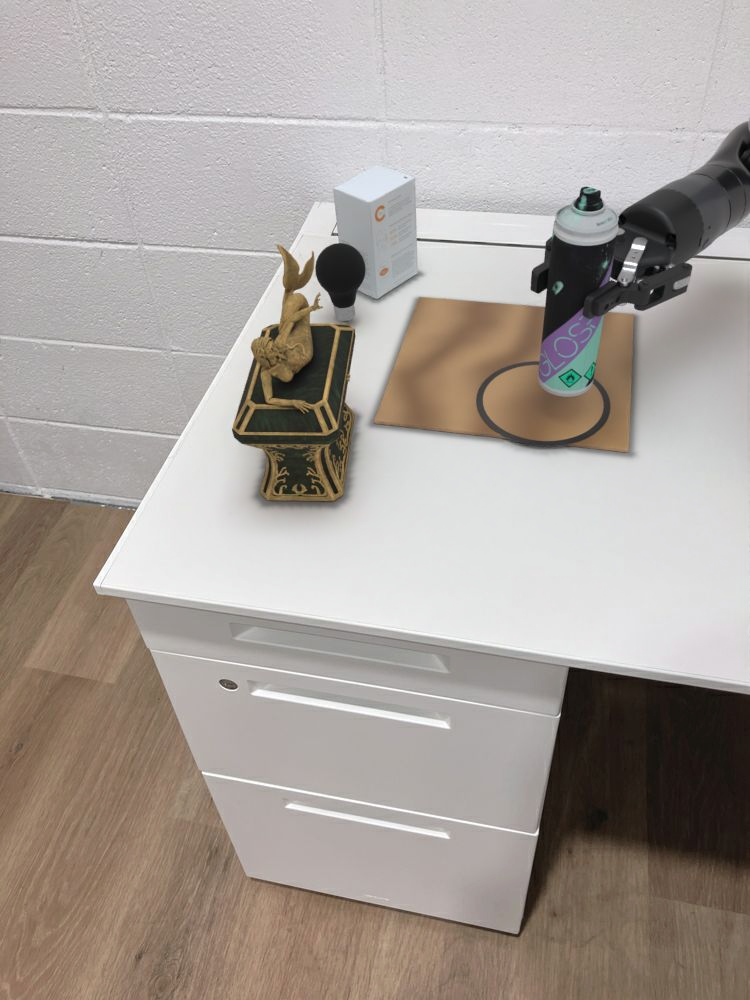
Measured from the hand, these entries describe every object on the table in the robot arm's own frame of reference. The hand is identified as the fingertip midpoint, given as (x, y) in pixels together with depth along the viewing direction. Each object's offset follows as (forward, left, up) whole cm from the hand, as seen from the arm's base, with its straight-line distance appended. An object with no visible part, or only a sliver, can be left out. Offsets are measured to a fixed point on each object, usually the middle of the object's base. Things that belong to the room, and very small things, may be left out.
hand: (560, 295), depth 72 cm
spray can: (-1, -2, -11) cm, 11 cm away
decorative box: (+23, +7, -15) cm, 29 cm away
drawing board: (+5, -9, -15) cm, 18 cm away
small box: (+24, -25, -15) cm, 38 cm away
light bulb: (+26, -15, -15) cm, 33 cm away
